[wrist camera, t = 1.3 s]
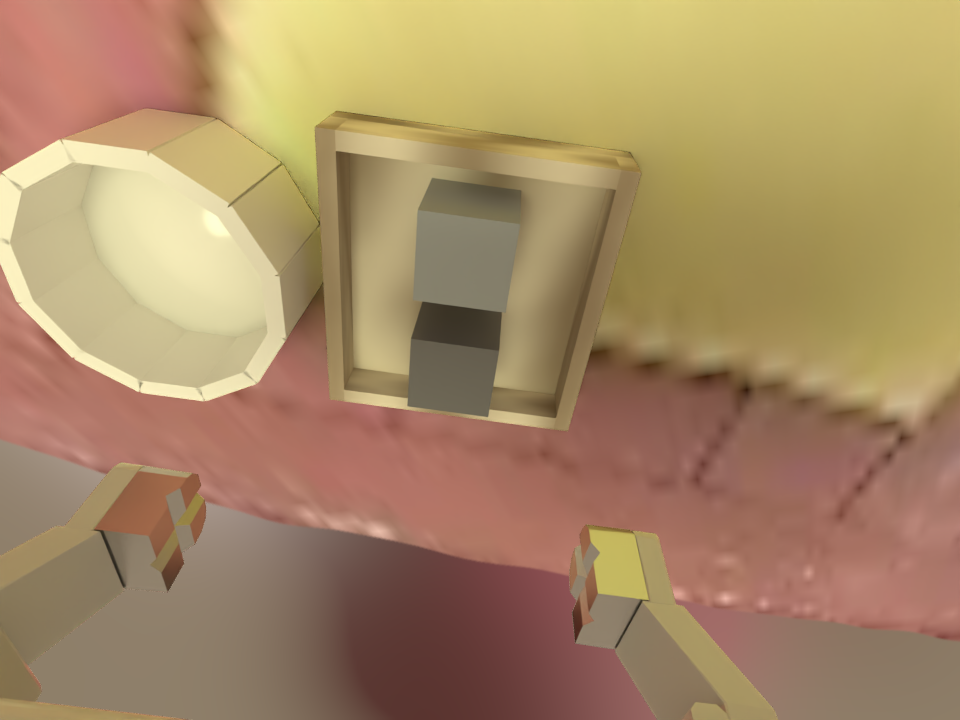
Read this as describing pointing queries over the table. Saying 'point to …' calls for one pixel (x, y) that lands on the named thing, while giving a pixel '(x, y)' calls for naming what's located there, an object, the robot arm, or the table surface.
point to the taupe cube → (466, 244)
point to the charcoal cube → (454, 359)
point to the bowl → (161, 251)
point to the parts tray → (536, 271)
